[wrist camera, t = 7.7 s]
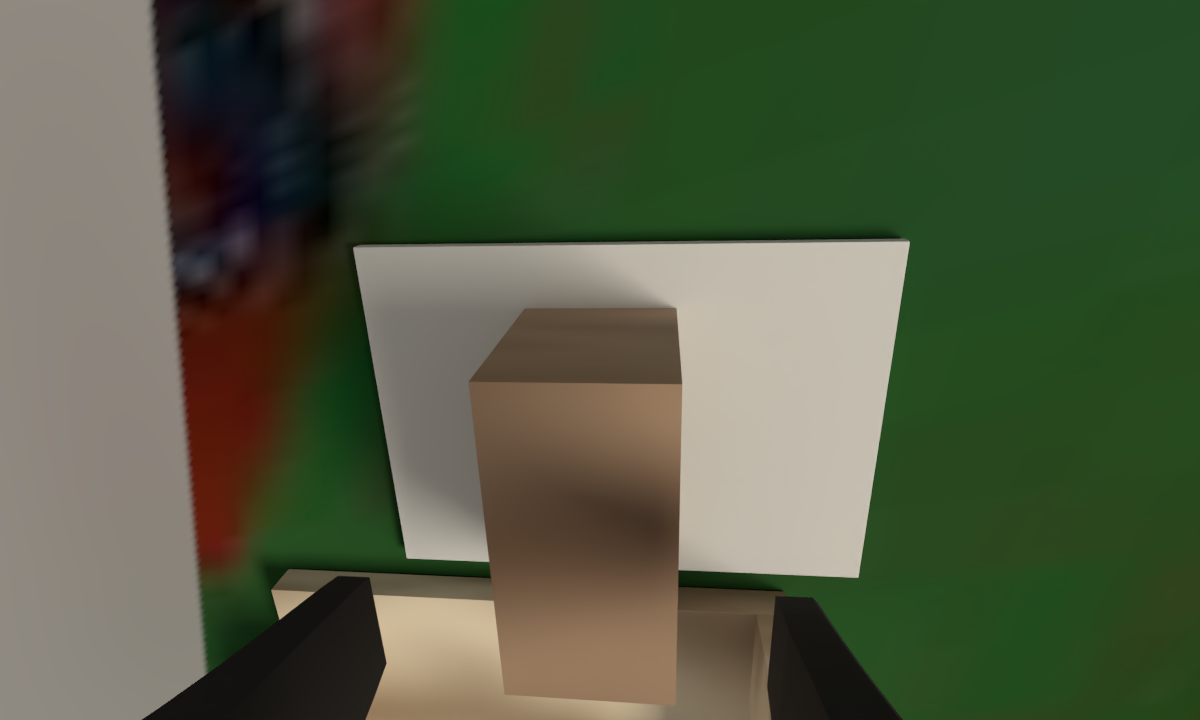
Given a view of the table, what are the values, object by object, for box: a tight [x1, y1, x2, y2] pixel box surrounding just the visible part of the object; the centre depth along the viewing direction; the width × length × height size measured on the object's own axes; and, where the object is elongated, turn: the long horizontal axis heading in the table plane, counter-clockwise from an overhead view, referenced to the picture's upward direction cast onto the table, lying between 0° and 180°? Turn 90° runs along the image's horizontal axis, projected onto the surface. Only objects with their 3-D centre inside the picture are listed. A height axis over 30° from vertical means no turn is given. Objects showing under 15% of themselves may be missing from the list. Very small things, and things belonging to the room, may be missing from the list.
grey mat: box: [353, 239, 910, 578], centre depth 17 cm, size 10×14×1 cm
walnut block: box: [468, 308, 682, 706], centre depth 15 cm, size 8×4×5 cm, turn 2°
